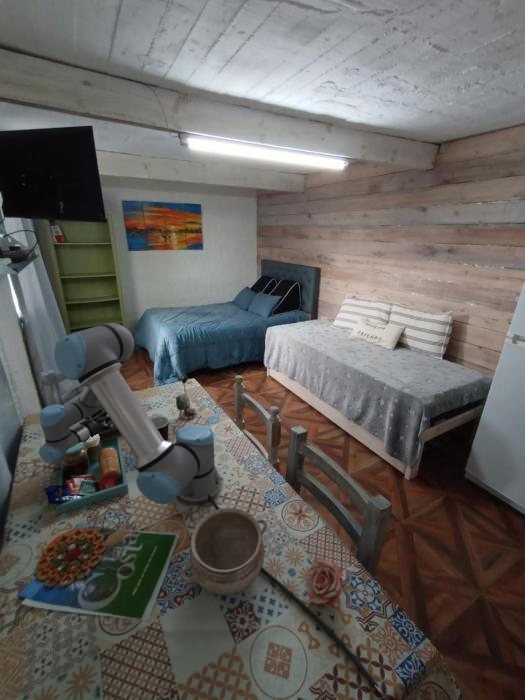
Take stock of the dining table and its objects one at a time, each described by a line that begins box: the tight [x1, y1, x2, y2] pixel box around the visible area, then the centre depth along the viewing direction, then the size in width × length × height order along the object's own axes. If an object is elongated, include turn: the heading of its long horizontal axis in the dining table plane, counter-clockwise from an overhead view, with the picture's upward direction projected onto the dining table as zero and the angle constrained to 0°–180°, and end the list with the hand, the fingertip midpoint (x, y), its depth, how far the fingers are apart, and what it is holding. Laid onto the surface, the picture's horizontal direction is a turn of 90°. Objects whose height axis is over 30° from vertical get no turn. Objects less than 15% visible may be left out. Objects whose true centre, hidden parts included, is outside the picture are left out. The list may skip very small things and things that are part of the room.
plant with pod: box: [175, 374, 198, 421], centre depth 147 cm, size 8×11×20 cm
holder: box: [98, 426, 121, 441], centre depth 138 cm, size 8×16×3 cm, turn 124°
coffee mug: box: [150, 415, 170, 441], centre depth 131 cm, size 12×9×10 cm
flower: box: [306, 557, 344, 609], centre depth 77 cm, size 10×9×8 cm
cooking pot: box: [179, 507, 268, 596], centre depth 81 cm, size 25×19×12 cm
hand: (128, 403), depth 141 cm, fingers closed on soda can, 5 cm apart
